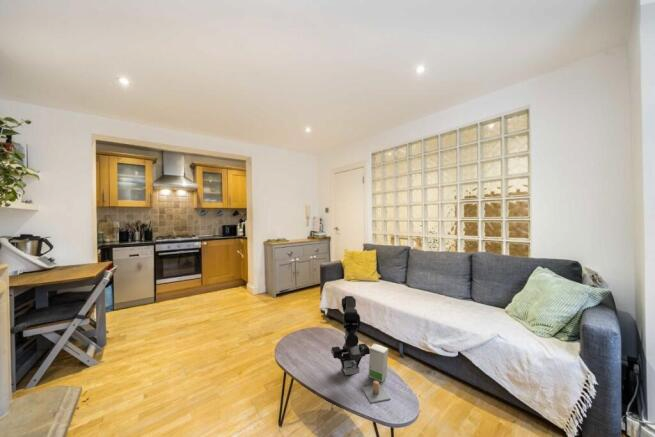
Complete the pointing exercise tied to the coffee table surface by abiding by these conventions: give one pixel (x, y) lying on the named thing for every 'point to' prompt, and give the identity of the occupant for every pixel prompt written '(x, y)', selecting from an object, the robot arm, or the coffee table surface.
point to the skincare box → (378, 362)
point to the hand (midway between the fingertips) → (350, 367)
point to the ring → (350, 370)
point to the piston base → (376, 397)
